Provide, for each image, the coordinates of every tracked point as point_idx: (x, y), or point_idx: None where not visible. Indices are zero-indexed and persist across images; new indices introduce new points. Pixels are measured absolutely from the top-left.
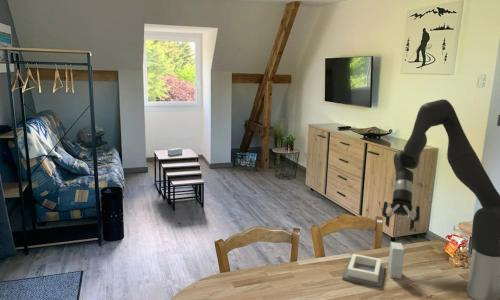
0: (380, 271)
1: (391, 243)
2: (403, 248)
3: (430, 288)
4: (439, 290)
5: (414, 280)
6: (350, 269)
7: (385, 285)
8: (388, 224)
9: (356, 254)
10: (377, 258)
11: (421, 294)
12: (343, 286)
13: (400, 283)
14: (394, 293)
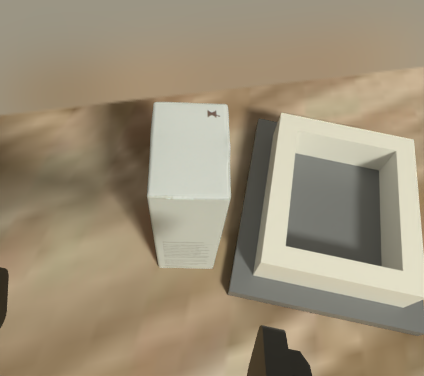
0: (256, 219)
1: (228, 176)
2: (155, 116)
3: (56, 148)
4: (23, 140)
5: (104, 195)
6: (400, 137)
7: (238, 141)
8: (268, 329)
9: (405, 291)
10: (281, 264)
11: (111, 107)
12: (390, 115)
13: None
14: (211, 100)
